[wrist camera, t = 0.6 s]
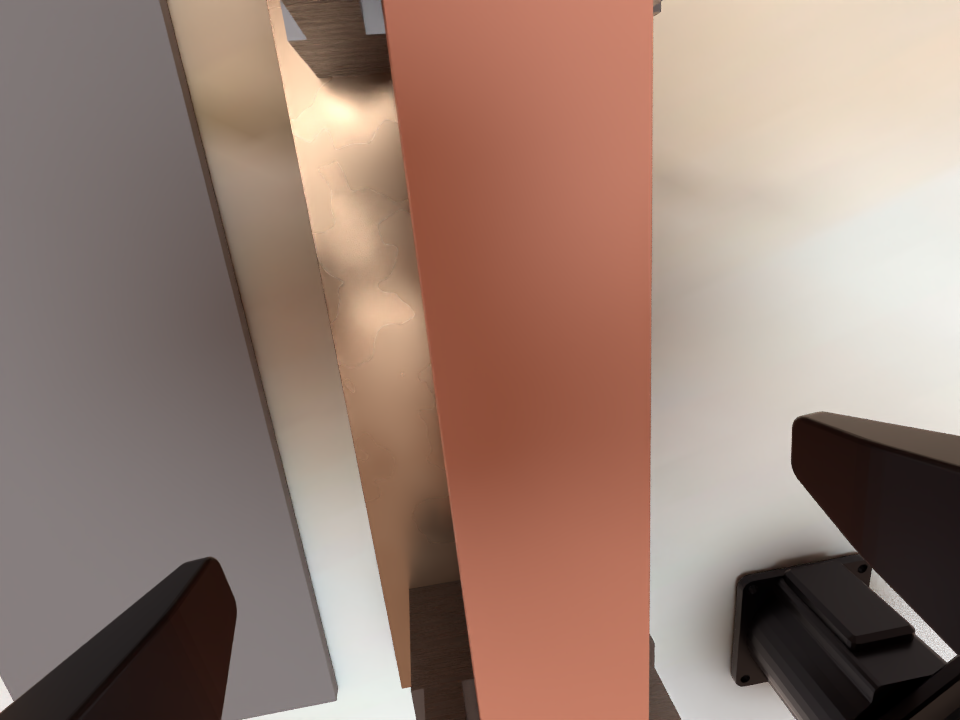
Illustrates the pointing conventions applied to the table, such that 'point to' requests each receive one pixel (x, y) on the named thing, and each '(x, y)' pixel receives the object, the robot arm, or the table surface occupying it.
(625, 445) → the rail
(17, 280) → the slate mat
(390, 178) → the rail rack
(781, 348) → the table surface
